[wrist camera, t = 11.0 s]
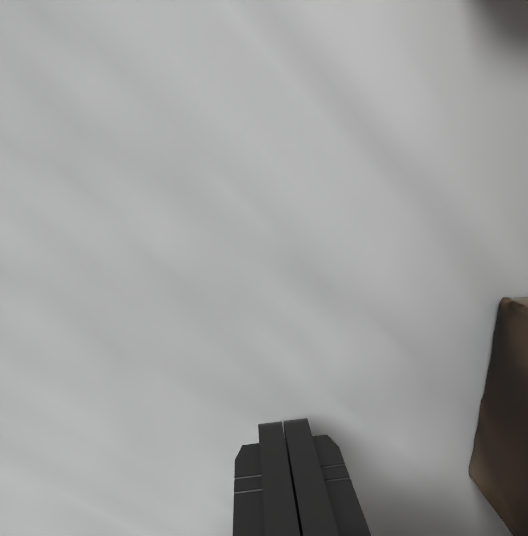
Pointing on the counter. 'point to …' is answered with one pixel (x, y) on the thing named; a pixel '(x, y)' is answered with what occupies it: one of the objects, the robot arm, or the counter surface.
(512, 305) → the beverage carton
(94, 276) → the counter surface
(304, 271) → the counter surface
